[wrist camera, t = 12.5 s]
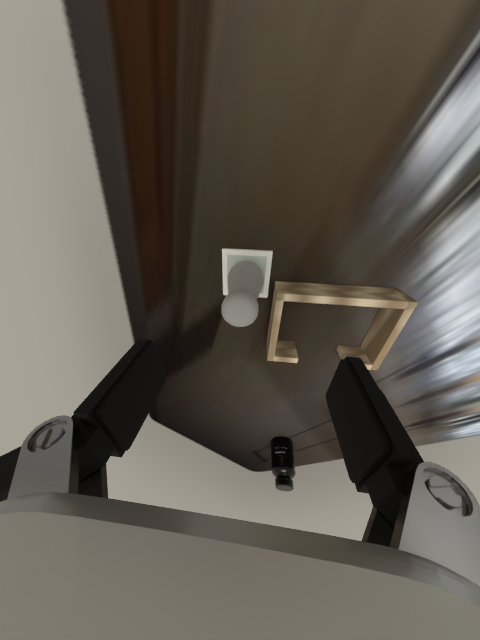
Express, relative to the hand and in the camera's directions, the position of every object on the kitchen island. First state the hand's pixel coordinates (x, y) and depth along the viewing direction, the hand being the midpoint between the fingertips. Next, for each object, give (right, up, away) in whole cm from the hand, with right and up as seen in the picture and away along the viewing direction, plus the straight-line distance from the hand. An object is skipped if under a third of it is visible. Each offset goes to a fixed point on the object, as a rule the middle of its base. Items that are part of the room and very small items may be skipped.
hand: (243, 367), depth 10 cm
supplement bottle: (+13, -37, +52) cm, 66 cm away
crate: (+16, +3, +26) cm, 30 cm away
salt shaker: (+1, +10, +22) cm, 24 cm away
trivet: (+1, +10, +22) cm, 25 cm away
